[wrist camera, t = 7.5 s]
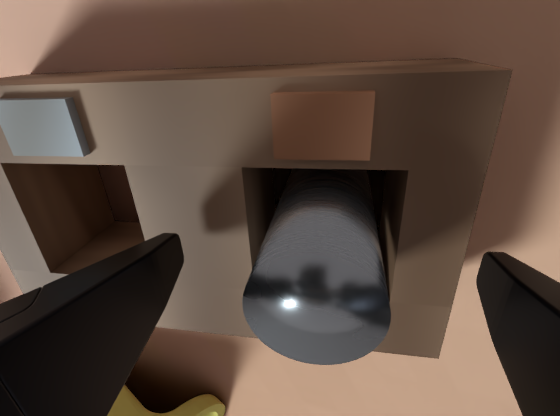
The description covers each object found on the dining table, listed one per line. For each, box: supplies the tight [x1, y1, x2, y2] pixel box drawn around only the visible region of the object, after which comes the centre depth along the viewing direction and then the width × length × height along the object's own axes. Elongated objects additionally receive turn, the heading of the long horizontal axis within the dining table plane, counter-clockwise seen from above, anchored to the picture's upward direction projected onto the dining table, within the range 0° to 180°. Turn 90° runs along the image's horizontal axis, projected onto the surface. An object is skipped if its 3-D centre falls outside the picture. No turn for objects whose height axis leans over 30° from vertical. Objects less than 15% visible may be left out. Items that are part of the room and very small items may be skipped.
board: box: [0, 58, 512, 359], centre depth 12 cm, size 16×9×4 cm, turn 93°
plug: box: [242, 168, 391, 365], centre depth 10 cm, size 3×3×7 cm
